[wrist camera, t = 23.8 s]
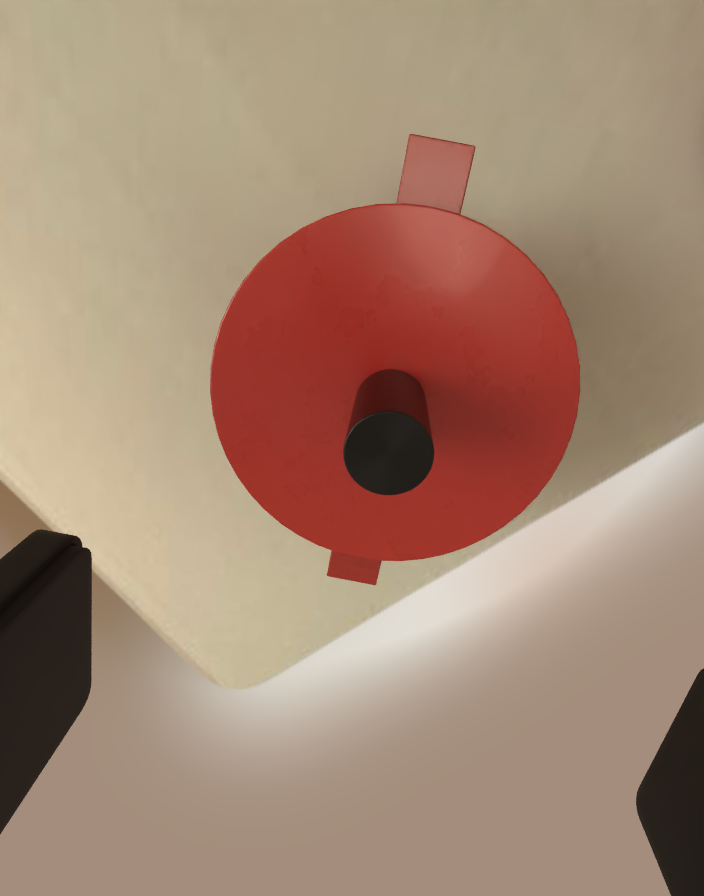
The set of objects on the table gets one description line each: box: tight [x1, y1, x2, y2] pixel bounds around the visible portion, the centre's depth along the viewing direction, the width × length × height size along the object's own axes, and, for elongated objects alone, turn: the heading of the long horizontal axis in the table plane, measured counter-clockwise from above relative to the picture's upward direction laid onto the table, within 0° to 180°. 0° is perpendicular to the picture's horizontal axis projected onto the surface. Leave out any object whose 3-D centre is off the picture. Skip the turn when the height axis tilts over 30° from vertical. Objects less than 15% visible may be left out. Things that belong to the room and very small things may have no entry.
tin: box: [327, 134, 475, 585], centre depth 28 cm, size 14×19×10 cm
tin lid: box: [210, 203, 580, 561], centre depth 20 cm, size 15×15×7 cm
